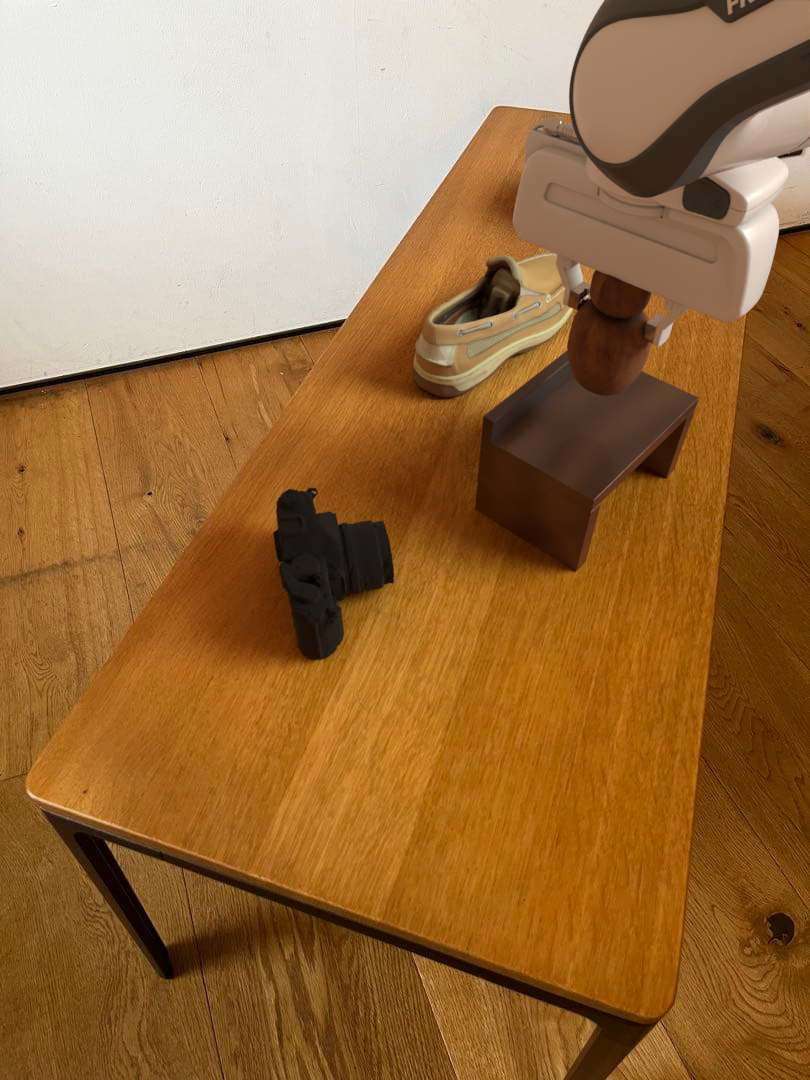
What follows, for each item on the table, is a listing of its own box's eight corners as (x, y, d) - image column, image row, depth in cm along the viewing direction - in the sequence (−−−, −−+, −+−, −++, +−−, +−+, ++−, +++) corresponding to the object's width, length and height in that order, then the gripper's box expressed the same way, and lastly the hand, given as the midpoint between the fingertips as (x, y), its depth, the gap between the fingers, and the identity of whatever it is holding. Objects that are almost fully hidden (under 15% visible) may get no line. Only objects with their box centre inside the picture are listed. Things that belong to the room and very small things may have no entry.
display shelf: (674, 470, 81) (706, 376, 72) (576, 571, 72) (599, 480, 63) (576, 419, 86) (596, 327, 77) (474, 508, 78) (482, 416, 69)
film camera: (407, 648, 67) (406, 584, 60) (294, 668, 66) (280, 605, 59) (376, 520, 77) (372, 452, 70) (277, 535, 76) (263, 468, 69)
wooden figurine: (651, 392, 68) (698, 227, 57) (600, 415, 66) (638, 248, 55) (600, 353, 72) (634, 191, 61) (550, 373, 70) (576, 209, 59)
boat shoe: (596, 300, 102) (613, 217, 94) (475, 419, 87) (482, 333, 78) (527, 275, 106) (537, 194, 98) (399, 384, 91) (398, 299, 82)
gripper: (505, 123, 57) (491, 292, 68) (771, 211, 48) (707, 391, 59) (554, 98, 60) (534, 264, 71) (813, 176, 51) (746, 353, 62)
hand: (614, 322), depth 65 cm, fingers closed on wooden figurine, 6 cm apart
